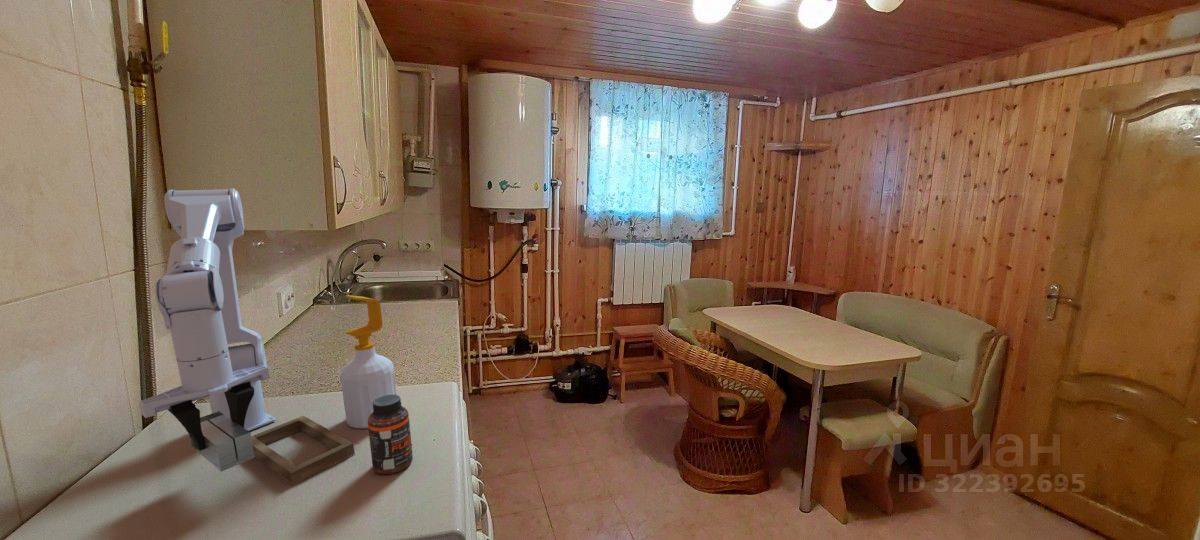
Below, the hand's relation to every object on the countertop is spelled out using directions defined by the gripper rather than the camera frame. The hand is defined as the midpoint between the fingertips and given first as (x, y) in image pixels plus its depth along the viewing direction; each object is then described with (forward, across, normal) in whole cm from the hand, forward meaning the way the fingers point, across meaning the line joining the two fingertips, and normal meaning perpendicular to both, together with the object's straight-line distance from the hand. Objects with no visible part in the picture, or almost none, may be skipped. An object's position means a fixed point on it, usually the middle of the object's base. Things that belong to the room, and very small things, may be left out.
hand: (219, 440), depth 69 cm
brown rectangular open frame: (+7, +10, 0) cm, 12 cm away
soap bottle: (+8, +23, 0) cm, 25 cm away
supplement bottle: (+8, +16, -17) cm, 25 cm away
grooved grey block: (+2, 0, 0) cm, 2 cm away
